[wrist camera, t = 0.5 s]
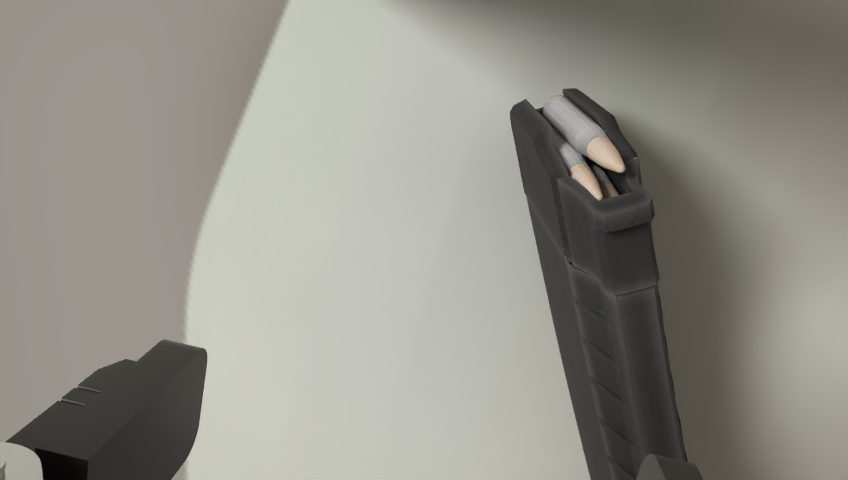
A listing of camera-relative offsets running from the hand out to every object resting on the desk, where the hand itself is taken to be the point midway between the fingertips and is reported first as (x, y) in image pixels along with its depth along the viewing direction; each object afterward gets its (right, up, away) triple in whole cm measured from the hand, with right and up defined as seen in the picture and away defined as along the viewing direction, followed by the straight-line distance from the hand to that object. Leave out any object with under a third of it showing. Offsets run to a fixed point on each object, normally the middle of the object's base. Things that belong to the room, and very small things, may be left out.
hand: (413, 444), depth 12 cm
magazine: (+9, -4, +22) cm, 24 cm away
